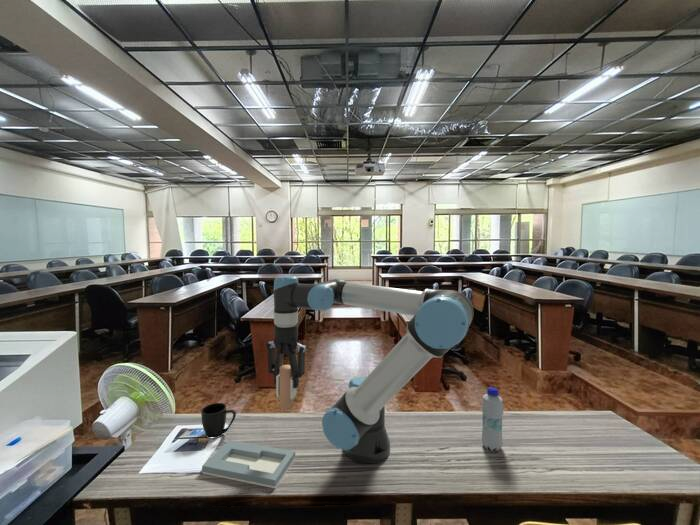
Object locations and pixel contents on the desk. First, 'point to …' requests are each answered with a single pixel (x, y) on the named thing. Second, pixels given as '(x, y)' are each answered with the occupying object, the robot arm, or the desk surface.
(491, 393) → the bottle
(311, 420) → the desk surface
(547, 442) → the desk surface
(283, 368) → the peg
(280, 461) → the keyhole board
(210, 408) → the mug
